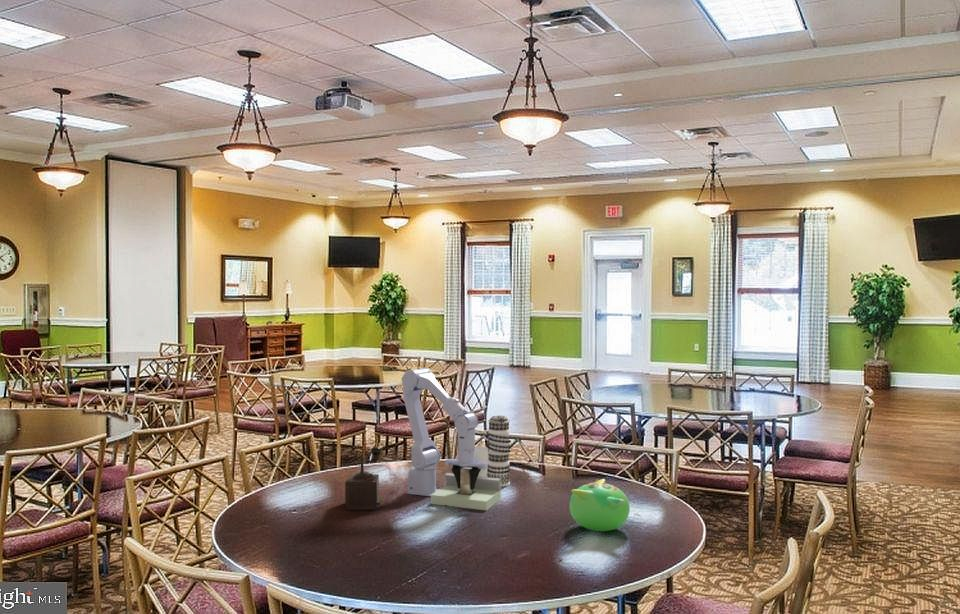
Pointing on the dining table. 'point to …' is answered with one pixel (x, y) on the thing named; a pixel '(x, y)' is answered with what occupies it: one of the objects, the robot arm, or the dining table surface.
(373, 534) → the dining table surface
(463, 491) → the peg
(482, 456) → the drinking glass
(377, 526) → the dining table surface
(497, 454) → the decorative candle
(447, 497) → the socket board
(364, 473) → the pepper mill
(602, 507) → the toy bird
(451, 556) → the dining table surface
